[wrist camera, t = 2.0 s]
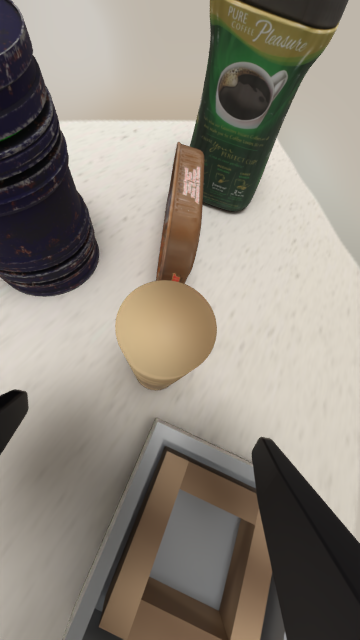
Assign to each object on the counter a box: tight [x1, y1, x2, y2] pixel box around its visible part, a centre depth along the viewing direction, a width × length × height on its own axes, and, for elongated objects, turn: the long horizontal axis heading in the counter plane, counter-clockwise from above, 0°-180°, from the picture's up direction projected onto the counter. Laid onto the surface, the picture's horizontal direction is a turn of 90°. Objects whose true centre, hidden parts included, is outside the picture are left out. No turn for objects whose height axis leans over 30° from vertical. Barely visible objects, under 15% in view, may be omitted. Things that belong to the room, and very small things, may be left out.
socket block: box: [99, 446, 272, 640], centre depth 14 cm, size 9×9×2 cm
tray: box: [63, 418, 287, 640], centre depth 14 cm, size 12×12×4 cm
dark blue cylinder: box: [0, 0, 99, 296], centre depth 15 cm, size 10×10×15 cm
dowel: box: [115, 280, 217, 390], centre depth 14 cm, size 4×4×12 cm
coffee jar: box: [190, 0, 348, 211], centre depth 20 cm, size 10×8×19 cm
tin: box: [156, 142, 204, 284], centre depth 21 cm, size 15×3×8 cm, turn 175°
